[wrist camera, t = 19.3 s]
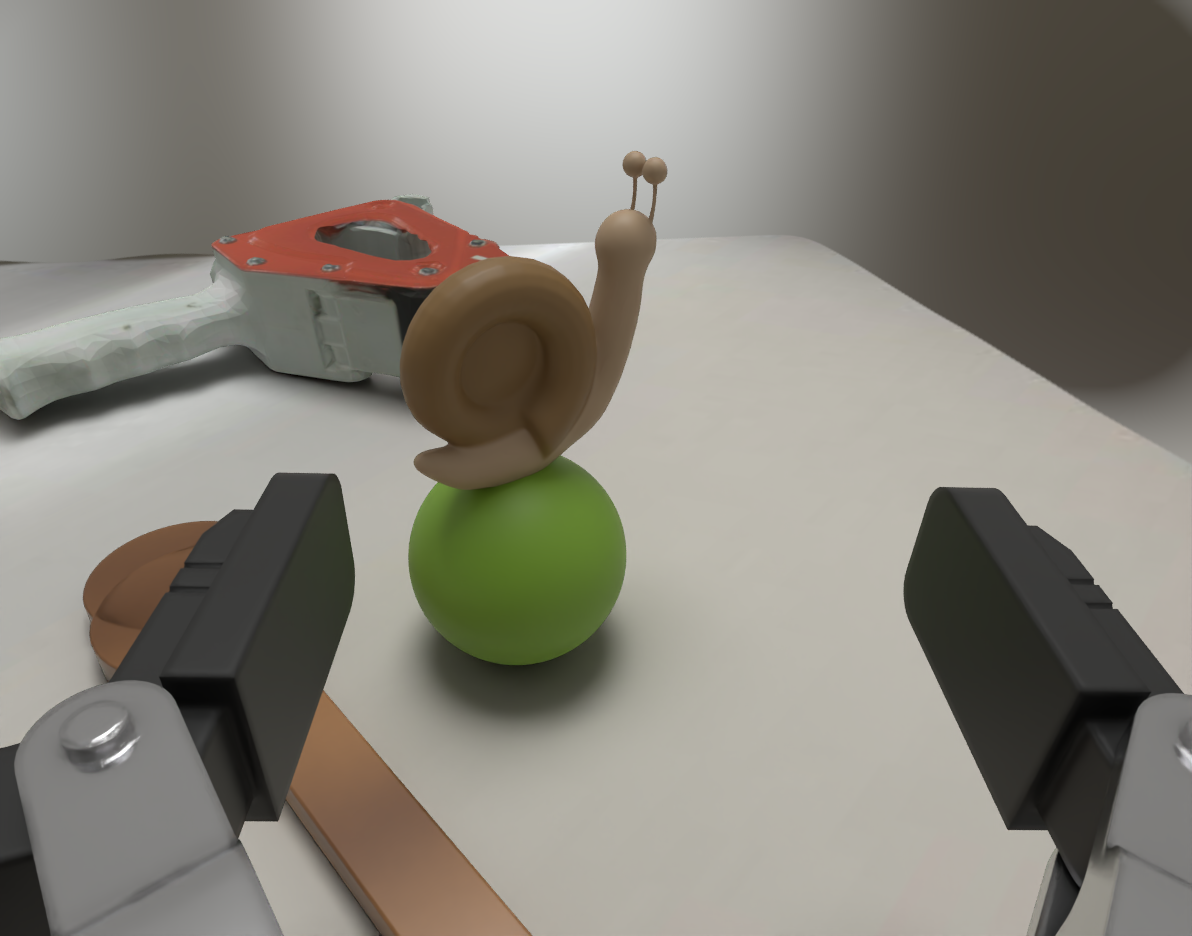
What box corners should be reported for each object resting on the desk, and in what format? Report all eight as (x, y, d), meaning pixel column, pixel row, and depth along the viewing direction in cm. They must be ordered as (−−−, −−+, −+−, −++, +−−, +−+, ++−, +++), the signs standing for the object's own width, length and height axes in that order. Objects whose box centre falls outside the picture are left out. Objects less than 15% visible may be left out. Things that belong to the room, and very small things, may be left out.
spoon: (742, 1050, 14) (750, 1023, 13) (502, 1354, 11) (499, 1334, 10) (242, 523, 26) (235, 497, 25) (59, 598, 23) (46, 571, 22)
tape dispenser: (-37, 458, 31) (467, 500, 27) (-113, 330, 28) (442, 359, 24) (219, 276, 45) (575, 288, 41) (187, 178, 42) (568, 182, 38)
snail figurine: (689, 633, 22) (748, 181, 16) (486, 749, 19) (451, 236, 12) (572, 533, 26) (580, 129, 19) (383, 615, 22) (314, 162, 16)
